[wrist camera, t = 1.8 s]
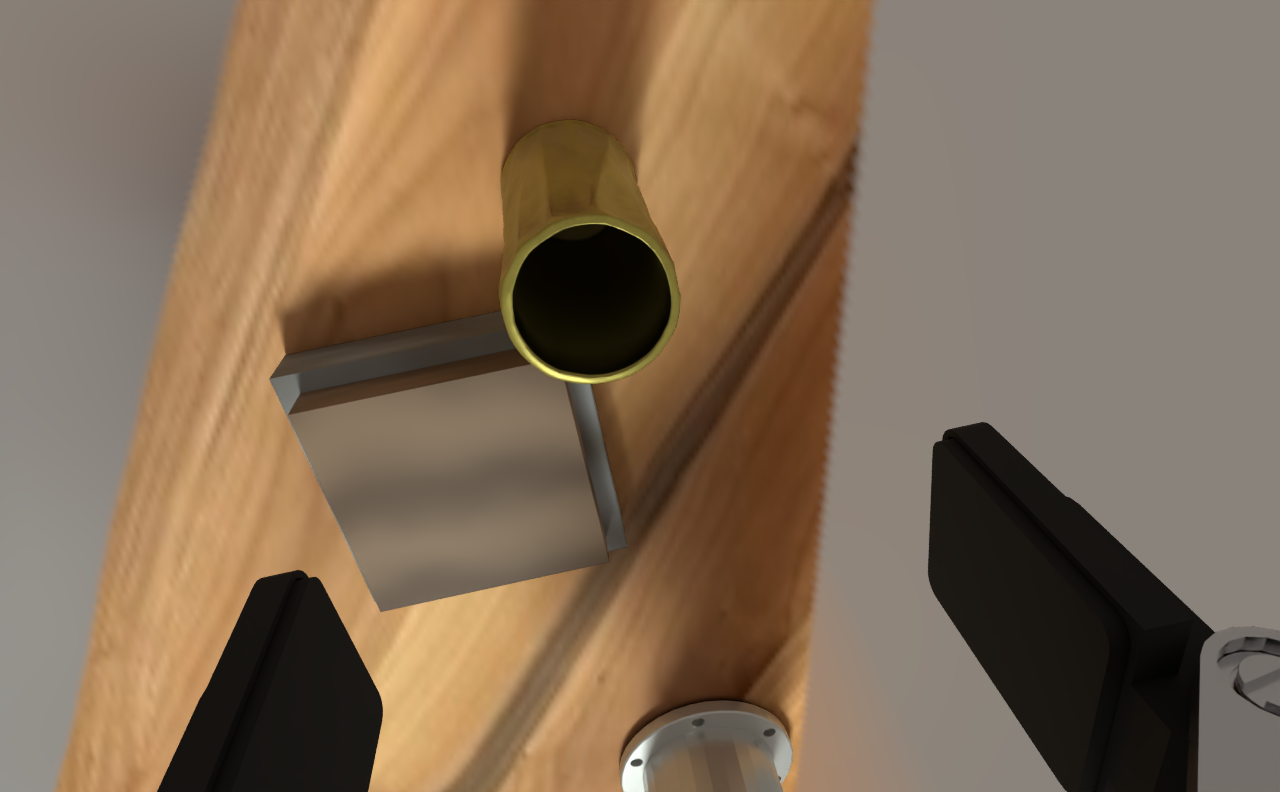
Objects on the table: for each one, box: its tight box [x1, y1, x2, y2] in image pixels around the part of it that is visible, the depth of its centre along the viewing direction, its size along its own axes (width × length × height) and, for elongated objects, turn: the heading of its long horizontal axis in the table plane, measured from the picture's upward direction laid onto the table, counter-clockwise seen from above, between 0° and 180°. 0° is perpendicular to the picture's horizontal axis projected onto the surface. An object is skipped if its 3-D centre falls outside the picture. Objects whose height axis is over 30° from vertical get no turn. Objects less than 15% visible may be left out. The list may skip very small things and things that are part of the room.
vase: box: [499, 120, 680, 384], centre depth 27 cm, size 6×6×14 cm
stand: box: [270, 311, 627, 612], centre depth 37 cm, size 14×14×4 cm
